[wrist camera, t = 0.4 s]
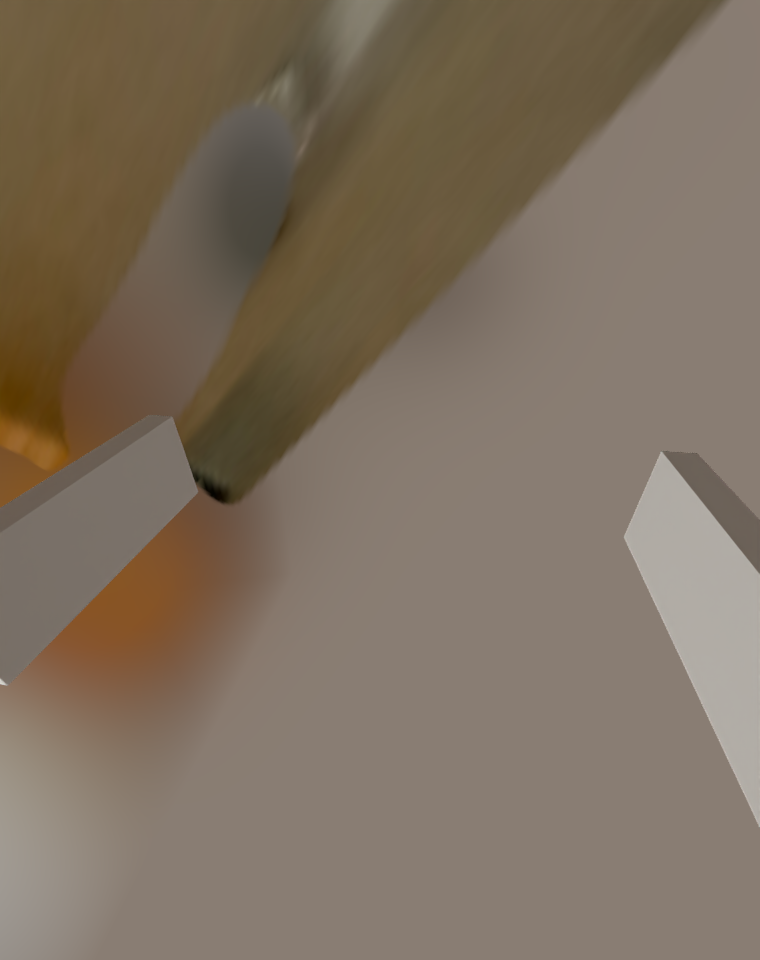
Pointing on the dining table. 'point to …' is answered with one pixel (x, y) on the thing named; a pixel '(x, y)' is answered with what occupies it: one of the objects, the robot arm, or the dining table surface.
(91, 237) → the dining table surface
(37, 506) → the robot arm
